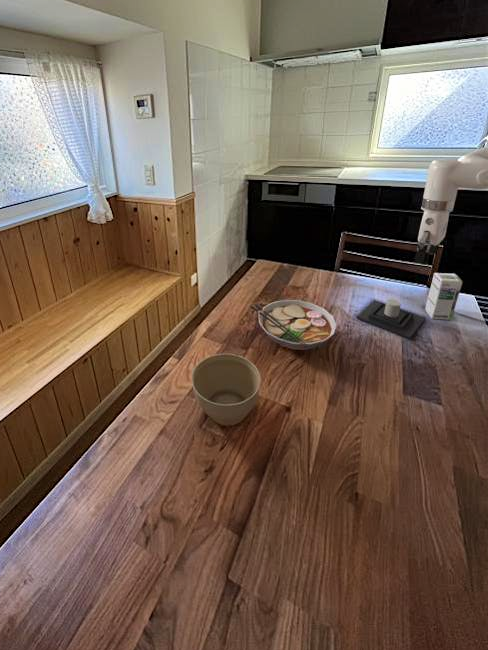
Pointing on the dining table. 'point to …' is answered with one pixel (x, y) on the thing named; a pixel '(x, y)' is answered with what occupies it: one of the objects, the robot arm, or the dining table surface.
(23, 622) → the dining table surface
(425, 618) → the dining table surface
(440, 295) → the syrup box
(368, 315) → the base pad
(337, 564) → the dining table surface
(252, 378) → the planter bowl
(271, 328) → the ramen bowl
